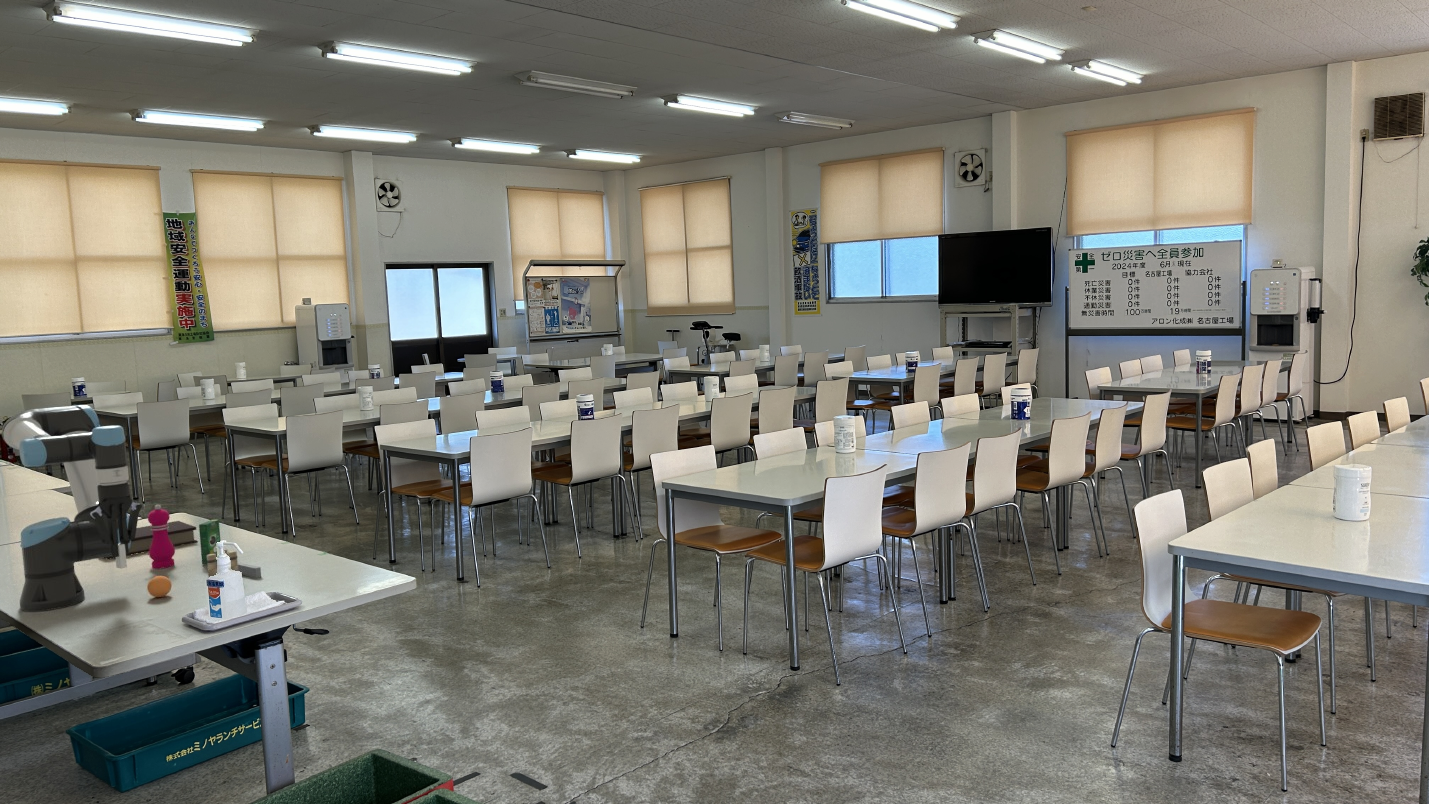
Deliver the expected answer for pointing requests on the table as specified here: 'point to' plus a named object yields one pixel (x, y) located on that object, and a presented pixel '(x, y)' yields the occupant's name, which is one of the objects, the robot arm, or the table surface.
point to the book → (176, 533)
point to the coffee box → (209, 538)
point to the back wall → (249, 570)
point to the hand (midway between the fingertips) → (121, 567)
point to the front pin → (212, 564)
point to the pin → (233, 560)
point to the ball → (159, 586)
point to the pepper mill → (160, 539)
